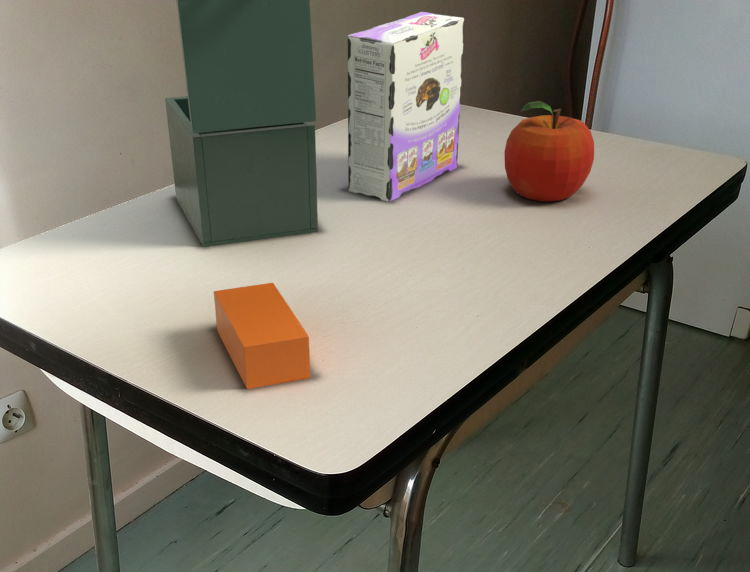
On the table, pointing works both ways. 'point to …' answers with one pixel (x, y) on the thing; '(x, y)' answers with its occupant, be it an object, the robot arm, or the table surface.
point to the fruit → (548, 155)
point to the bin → (243, 178)
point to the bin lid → (247, 63)
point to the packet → (262, 335)
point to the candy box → (403, 104)
